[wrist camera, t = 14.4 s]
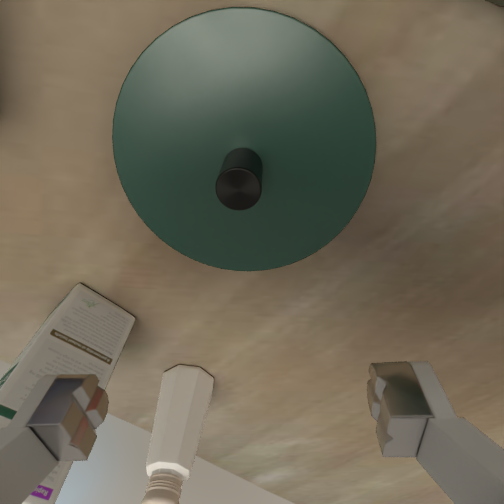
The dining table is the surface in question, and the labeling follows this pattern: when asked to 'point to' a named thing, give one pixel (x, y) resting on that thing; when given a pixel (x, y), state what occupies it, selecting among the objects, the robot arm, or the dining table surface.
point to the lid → (244, 139)
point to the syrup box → (66, 361)
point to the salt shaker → (176, 431)
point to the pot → (497, 2)
